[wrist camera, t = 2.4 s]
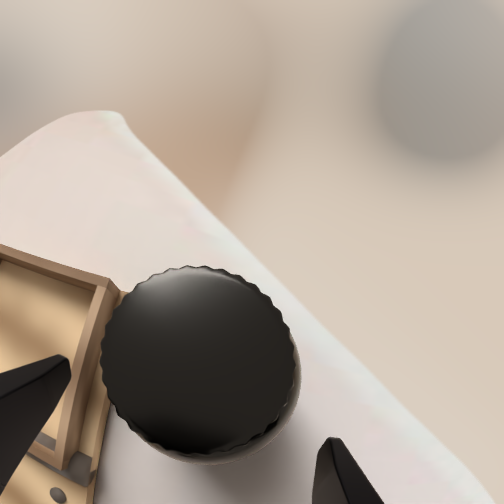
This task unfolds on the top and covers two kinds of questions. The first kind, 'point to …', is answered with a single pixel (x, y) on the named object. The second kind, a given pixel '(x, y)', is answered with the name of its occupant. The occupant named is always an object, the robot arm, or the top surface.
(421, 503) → the top surface
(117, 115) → the top surface
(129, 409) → the supplement bottle
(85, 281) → the hinge jig
